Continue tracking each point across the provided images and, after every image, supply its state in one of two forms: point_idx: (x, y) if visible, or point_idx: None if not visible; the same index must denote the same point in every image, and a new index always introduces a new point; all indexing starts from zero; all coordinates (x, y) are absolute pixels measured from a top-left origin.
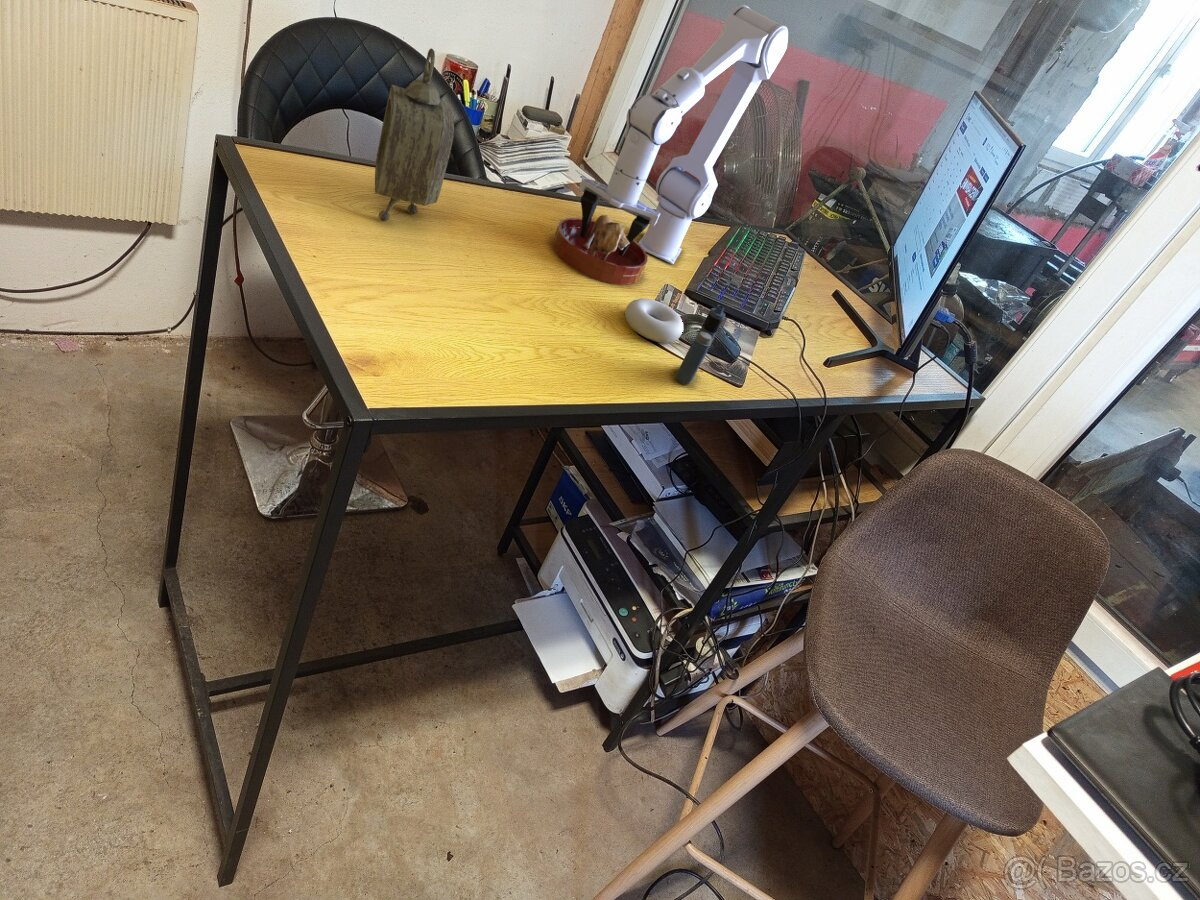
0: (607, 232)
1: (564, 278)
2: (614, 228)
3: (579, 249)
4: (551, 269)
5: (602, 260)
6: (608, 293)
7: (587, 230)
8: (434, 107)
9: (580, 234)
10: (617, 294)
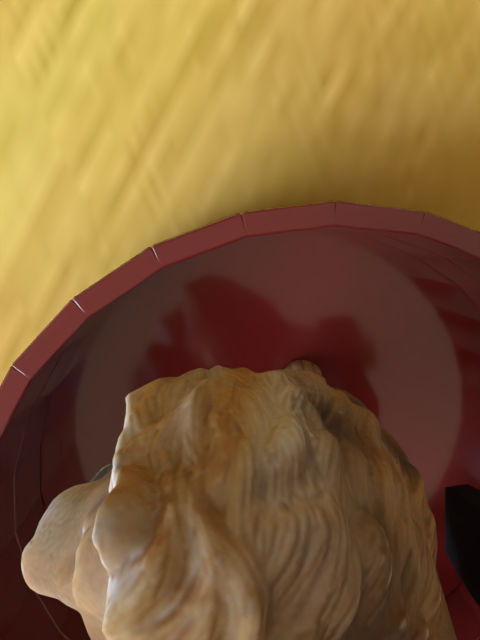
0: (315, 438)
1: (322, 18)
2: (256, 537)
3: (401, 217)
4: (423, 49)
5: (191, 247)
6: (52, 141)
7: (464, 571)
8: None
9: (475, 488)
10: (11, 195)
